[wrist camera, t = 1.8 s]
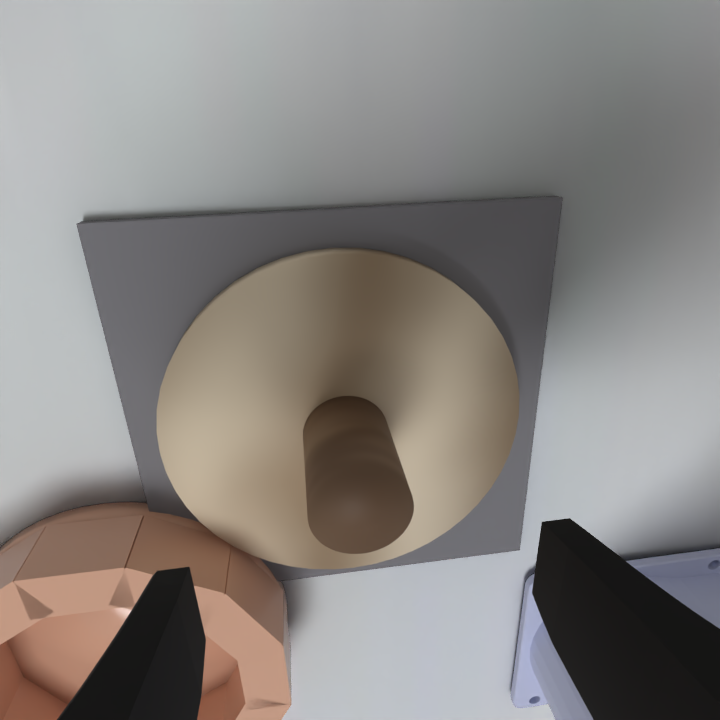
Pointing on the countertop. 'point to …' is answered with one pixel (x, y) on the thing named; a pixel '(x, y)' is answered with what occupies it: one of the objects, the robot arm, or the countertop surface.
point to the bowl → (118, 597)
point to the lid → (337, 409)
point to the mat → (313, 232)
